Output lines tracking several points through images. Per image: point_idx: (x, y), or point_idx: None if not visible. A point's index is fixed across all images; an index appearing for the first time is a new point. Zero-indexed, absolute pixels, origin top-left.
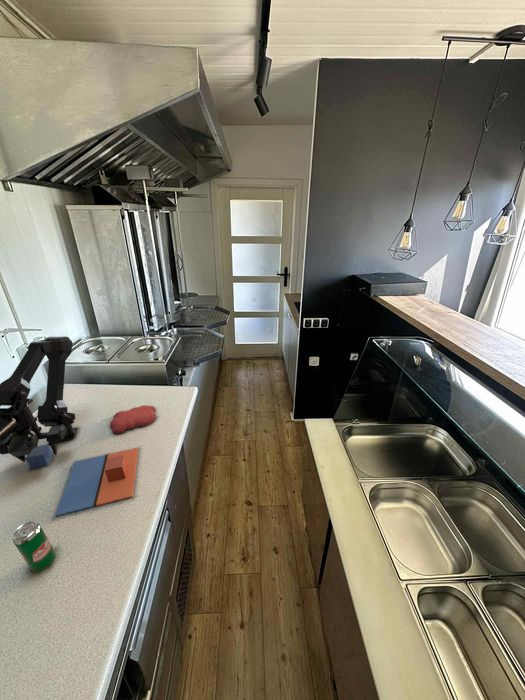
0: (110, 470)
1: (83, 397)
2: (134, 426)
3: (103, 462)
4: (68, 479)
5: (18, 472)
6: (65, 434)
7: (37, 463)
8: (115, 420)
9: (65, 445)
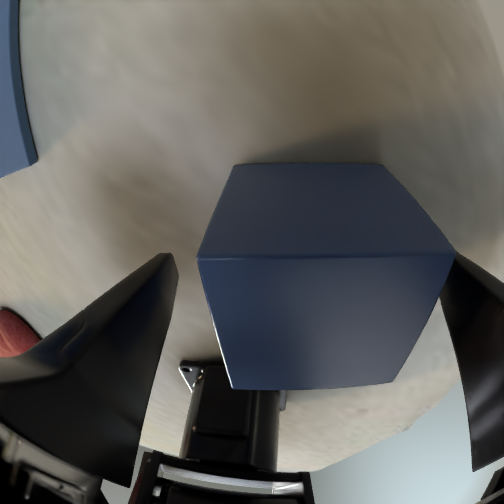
0: None
1: None
2: None
3: None
4: (8, 13)
5: (461, 165)
6: (198, 402)
7: (319, 182)
8: None
9: (200, 333)
